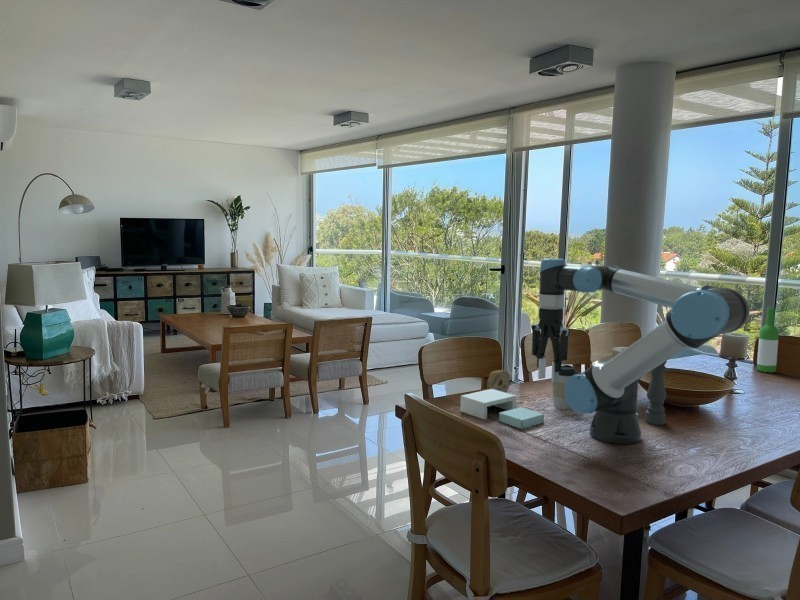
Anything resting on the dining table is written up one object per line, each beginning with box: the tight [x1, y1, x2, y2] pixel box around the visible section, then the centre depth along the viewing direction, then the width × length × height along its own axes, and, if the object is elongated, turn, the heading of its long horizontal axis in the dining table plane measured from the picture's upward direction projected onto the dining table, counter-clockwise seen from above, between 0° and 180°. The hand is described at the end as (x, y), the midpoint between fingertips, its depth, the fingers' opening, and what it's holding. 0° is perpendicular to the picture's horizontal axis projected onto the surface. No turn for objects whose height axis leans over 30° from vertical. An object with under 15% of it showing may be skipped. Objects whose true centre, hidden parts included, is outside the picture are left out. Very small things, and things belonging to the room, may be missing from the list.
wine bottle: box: [756, 307, 780, 374], centre depth 280 cm, size 8×8×30 cm
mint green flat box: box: [498, 406, 545, 430], centre depth 201 cm, size 10×11×3 cm
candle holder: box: [644, 360, 668, 426], centre depth 202 cm, size 6×6×25 cm
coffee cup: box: [551, 364, 578, 410], centre depth 219 cm, size 9×9×15 cm
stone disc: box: [486, 369, 511, 393], centre depth 234 cm, size 10×4×10 cm, turn 125°
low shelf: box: [460, 389, 517, 420], centre depth 213 cm, size 12×16×6 cm
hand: (548, 379), depth 191 cm, fingers open, 4 cm apart
